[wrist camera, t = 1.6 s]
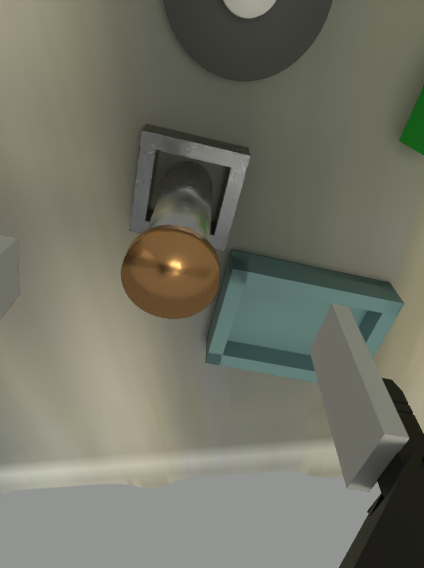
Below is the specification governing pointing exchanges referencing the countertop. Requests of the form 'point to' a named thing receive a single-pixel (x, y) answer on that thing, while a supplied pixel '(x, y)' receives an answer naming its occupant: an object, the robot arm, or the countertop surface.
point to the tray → (289, 314)
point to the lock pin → (175, 249)
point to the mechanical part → (415, 127)
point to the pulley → (246, 33)
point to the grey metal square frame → (195, 149)
